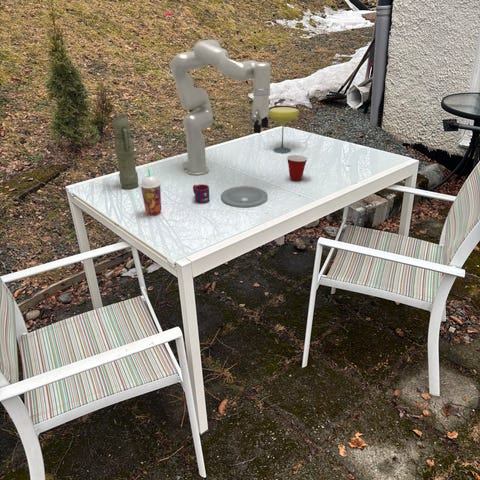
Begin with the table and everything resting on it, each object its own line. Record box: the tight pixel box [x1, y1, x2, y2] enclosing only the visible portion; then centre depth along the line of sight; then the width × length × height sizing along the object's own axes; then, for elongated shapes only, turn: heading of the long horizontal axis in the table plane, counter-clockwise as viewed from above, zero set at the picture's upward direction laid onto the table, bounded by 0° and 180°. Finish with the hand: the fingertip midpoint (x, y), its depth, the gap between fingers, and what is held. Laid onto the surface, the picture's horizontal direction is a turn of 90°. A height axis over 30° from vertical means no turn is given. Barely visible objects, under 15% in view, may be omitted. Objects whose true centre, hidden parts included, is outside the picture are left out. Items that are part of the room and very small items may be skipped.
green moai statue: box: [112, 114, 140, 191], centre depth 213 cm, size 9×12×35 cm
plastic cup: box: [286, 154, 309, 182], centre depth 225 cm, size 11×11×12 cm
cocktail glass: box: [268, 105, 300, 154], centre depth 263 cm, size 18×18×25 cm
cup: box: [192, 184, 211, 205], centre depth 205 cm, size 7×10×7 cm
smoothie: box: [140, 169, 162, 216], centre depth 190 cm, size 8×8×20 cm
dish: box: [220, 185, 269, 209], centre depth 207 cm, size 22×22×1 cm
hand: (260, 130), depth 205 cm, fingers open, 9 cm apart
